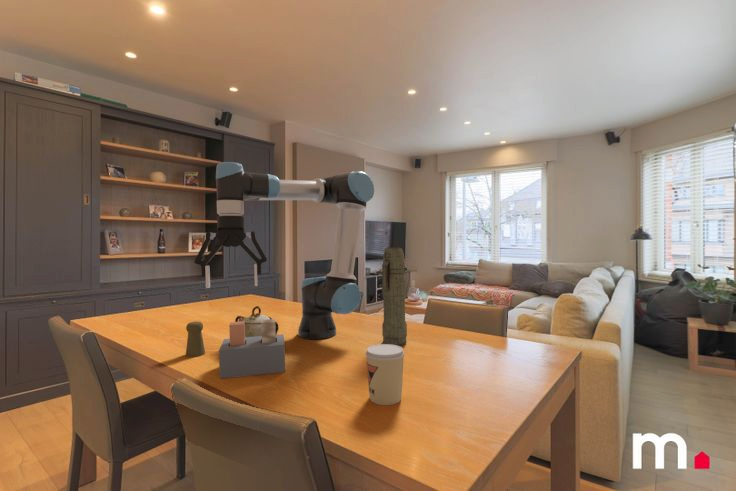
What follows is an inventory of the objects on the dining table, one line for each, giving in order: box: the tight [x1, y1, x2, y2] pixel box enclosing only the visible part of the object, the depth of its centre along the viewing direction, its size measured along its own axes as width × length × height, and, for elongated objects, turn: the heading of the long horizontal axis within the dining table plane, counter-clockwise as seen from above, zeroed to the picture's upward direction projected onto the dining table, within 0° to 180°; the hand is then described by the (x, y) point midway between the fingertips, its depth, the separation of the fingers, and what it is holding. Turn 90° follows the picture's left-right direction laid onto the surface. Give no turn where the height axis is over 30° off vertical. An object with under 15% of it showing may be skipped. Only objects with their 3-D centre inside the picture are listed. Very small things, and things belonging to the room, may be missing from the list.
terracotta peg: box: [228, 321, 245, 346], centre depth 112 cm, size 4×4×8 cm
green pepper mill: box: [185, 321, 206, 358], centre depth 128 cm, size 6×6×11 cm
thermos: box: [381, 246, 408, 347], centre depth 138 cm, size 9×12×35 cm
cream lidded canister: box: [365, 343, 405, 406], centre depth 91 cm, size 9×9×12 cm
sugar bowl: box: [234, 305, 279, 337], centre depth 133 cm, size 20×15×15 cm
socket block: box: [218, 334, 286, 380], centre depth 113 cm, size 18×12×8 cm, turn 104°
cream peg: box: [261, 318, 276, 343], centre depth 114 cm, size 4×4×8 cm
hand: (232, 286), depth 112 cm, fingers open, 13 cm apart
